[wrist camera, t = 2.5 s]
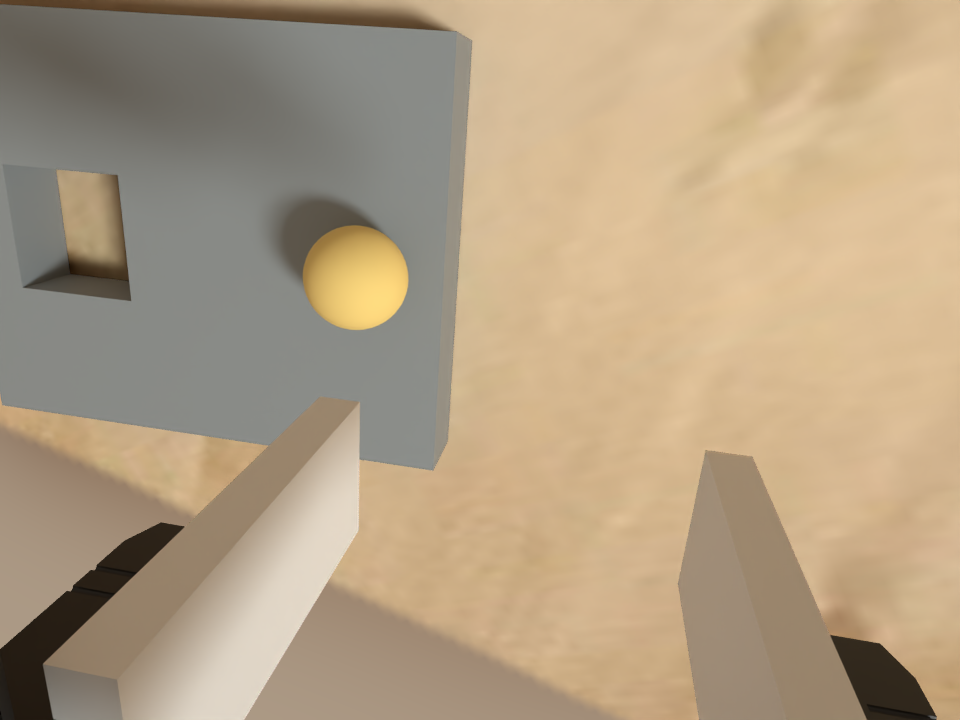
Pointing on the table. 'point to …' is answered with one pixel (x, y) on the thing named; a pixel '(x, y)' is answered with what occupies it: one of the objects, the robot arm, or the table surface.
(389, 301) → the ball
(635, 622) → the table surface
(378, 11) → the table surface
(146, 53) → the board
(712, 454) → the robot arm
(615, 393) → the table surface
